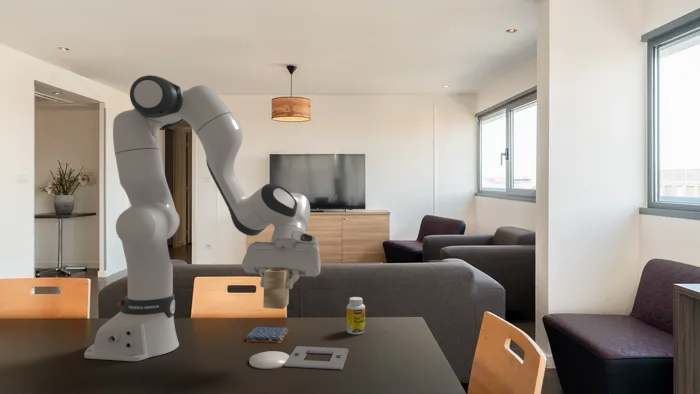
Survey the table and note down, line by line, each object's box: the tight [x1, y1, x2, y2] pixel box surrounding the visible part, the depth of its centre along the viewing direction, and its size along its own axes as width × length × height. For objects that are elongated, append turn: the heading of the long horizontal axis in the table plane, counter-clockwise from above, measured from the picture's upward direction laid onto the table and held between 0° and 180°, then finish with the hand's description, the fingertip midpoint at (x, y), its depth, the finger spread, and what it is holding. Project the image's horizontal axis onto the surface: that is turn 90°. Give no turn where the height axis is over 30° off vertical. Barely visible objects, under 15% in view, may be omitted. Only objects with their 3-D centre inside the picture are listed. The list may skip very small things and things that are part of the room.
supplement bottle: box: [346, 296, 366, 335], centre depth 133 cm, size 6×6×10 cm
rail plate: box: [284, 345, 349, 370], centre depth 112 cm, size 14×12×1 cm
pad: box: [248, 350, 290, 370], centre depth 110 cm, size 10×10×1 cm
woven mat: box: [246, 325, 290, 344], centre depth 129 cm, size 10×11×2 cm
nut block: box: [262, 268, 290, 310], centre depth 110 cm, size 5×5×9 cm
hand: (275, 286), depth 110 cm, fingers closed on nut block, 5 cm apart
